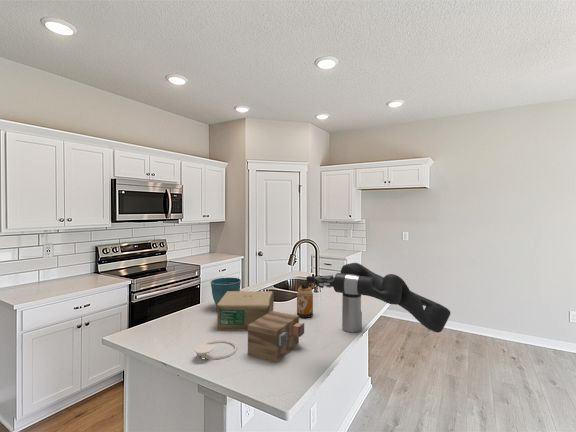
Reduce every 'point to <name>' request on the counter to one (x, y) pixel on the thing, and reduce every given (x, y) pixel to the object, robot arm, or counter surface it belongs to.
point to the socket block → (271, 335)
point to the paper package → (243, 308)
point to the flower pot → (224, 287)
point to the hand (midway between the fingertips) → (307, 278)
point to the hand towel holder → (208, 348)
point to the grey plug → (283, 339)
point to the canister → (305, 300)
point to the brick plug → (298, 329)
